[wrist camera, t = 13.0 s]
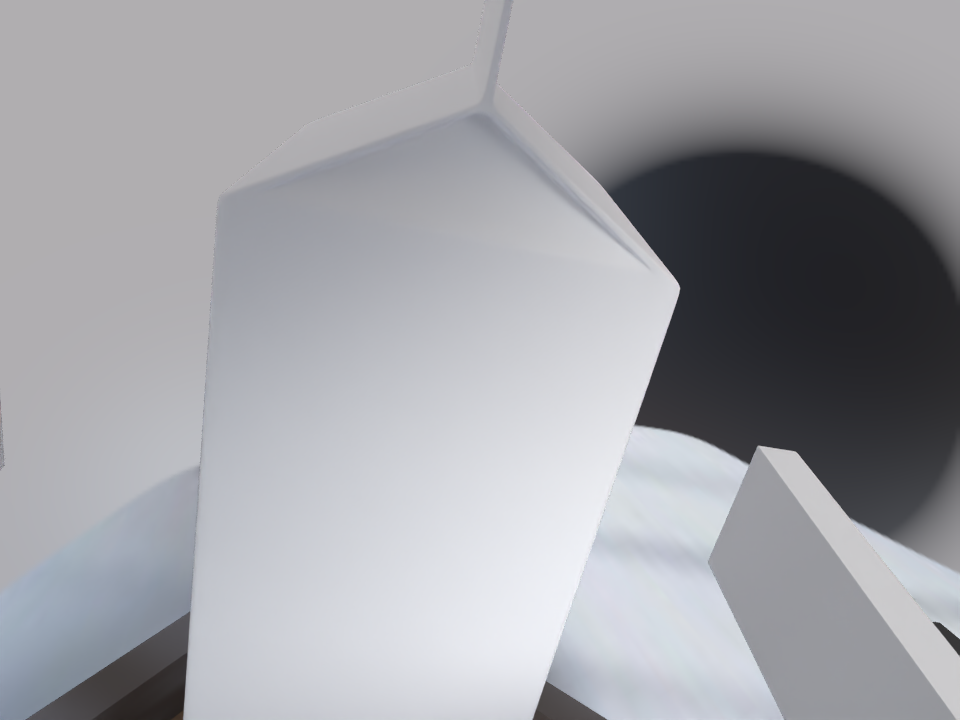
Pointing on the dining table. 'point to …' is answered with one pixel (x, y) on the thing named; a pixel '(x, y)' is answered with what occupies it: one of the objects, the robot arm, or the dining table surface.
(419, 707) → the milk
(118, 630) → the dining table surface
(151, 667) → the dock
